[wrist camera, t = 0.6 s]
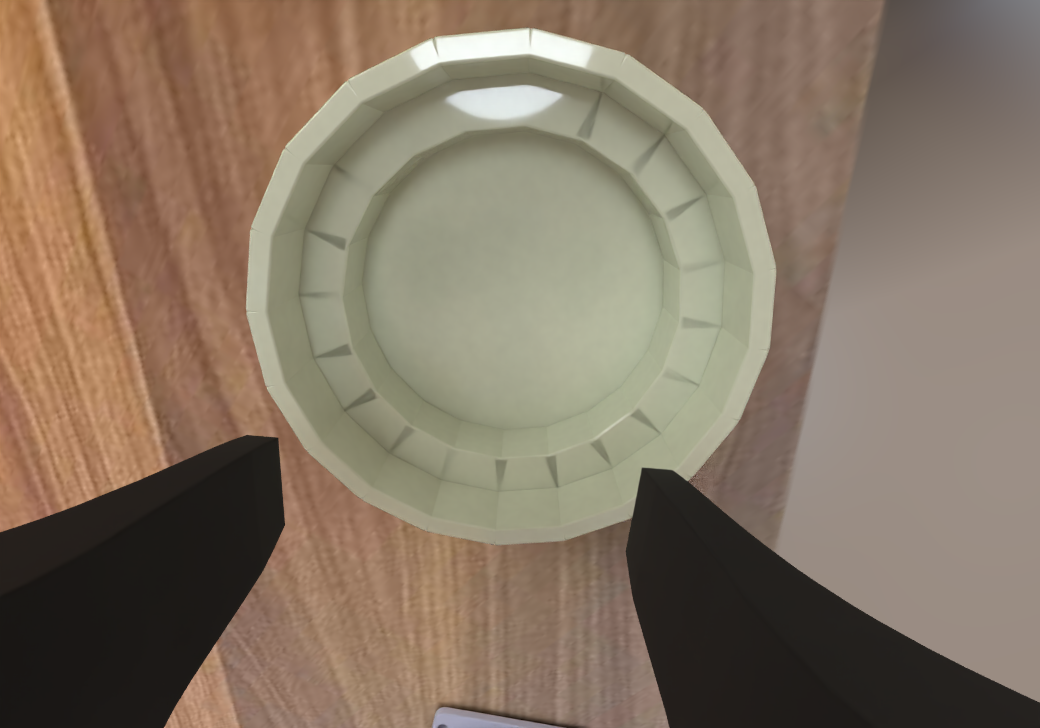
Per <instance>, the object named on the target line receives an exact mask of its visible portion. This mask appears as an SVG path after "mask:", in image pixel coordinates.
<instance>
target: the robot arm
mask: <svg viewBox="0 0 1040 728" xmlns="http://www.w3.org/2000/svg"><path fill="white" fill-rule="evenodd" d="M284 526H285V520H284V507H283V494H282V481H281V468H280V456H279V443H278V438H275V437H263V436H251V435H246V436H243V437H240V438H237V439H234V440H231V441H229V442H226V443H224V444H221V445H219V446H216V447H214V448H212V449H209V450H207V451H205V452H202V453H200V454H198V455H196V456H193V457H191V458H189V459H187V460H184V461H182V462H180V463H178V464H175V465H173V466H171V467H168V468H166V469H164V470H162V471H159V472H157V473H155V474H153V475H150V476H148V477H146V478H143V479H141V480H139V481H136V482H134V483H131V484H129V485H126V486H124V487H122V488H119V489H117V490H114V491H112V492H109V493H107V494H104V495H102V496H99V497H97V498H94V499H92V500H89V501H87V502H85V503H82V504H80V505H77V506H75V507H72V508H69V509H67V510H64V511H61V512H59V513H56V514H53V515H50V516H47V517H45V518H42V519H39V520H36V521H33V522H30V523H27V524H24V525H21V526H18V527H15V528H12V529H9V530H6V531H3V532H0V728H164V726H165V724H166V723H167V721H168V719H169V717H170V715H171V713H172V711H173V710H174V708H175V706H176V704H177V703H178V701H179V699H180V698H181V696H182V695H183V693H184V691H185V690H186V688H187V686H188V685H189V683H190V681H191V680H192V678H193V677H194V675H195V674H196V672H197V671H198V669H199V668H200V666H201V665H202V663H203V662H204V660H205V659H206V657H207V656H208V654H209V653H210V651H211V650H212V648H213V646H214V645H215V643H216V642H217V640H218V639H219V637H220V636H221V634H222V633H223V631H224V630H225V628H226V627H227V625H228V624H229V622H230V621H231V619H232V618H233V616H234V615H235V613H236V612H237V610H238V609H239V607H240V606H241V604H242V603H243V601H244V600H245V598H246V596H247V595H248V593H249V592H250V590H251V589H252V587H253V586H254V584H255V583H256V581H257V579H258V578H259V576H260V575H261V573H262V571H263V570H264V568H265V566H266V564H267V562H268V560H269V558H270V556H271V554H272V552H273V550H274V548H275V545H276V543H277V541H278V539H279V537H280V534H281V532H282V530H283V528H284ZM626 556H627V563H628V570H629V577H630V583H631V589H632V596H633V600H634V604H635V608H636V611H637V615H638V618H639V622H640V625H641V629H642V632H643V636H644V639H645V643H646V646H647V650H648V653H649V657H650V660H651V663H652V667H653V670H654V674H655V677H656V681H657V684H658V687H659V691H660V694H661V698H662V701H663V705H664V708H665V711H666V715H667V719H668V723H669V727H670V728H1040V703H1039V702H1037V701H1035V700H1033V699H1030V698H1028V697H1026V696H1024V695H1022V694H1020V693H1018V692H1016V691H1014V690H1011V689H1009V688H1007V687H1005V686H1003V685H1001V684H999V683H997V682H995V681H992V680H990V679H988V678H986V677H984V676H982V675H980V674H978V673H976V672H974V671H972V670H970V669H968V668H965V667H964V666H962V665H959V664H958V663H956V662H954V661H952V660H950V659H948V658H946V657H944V656H942V655H940V654H938V653H936V652H934V651H932V650H930V649H928V648H926V647H925V646H923V645H921V644H919V643H917V642H916V641H914V640H912V639H910V638H908V637H907V636H905V635H903V634H901V633H899V632H898V631H896V630H894V629H892V628H890V627H889V626H887V625H885V624H883V623H881V622H880V621H878V620H876V619H874V618H873V617H871V616H869V615H868V614H866V613H864V612H863V611H861V610H859V609H858V608H856V607H854V606H853V605H851V604H849V603H848V602H846V601H845V600H843V599H842V598H840V597H839V596H837V595H836V594H834V593H832V592H831V591H829V590H828V589H826V588H825V587H823V586H821V585H820V584H818V583H817V582H815V581H814V580H812V579H811V578H809V577H808V576H806V575H805V574H803V573H802V572H801V571H799V570H798V569H796V568H795V567H794V566H792V565H791V564H790V563H788V562H787V561H785V560H784V559H783V558H781V557H780V556H779V555H777V554H776V553H775V552H773V551H772V550H771V549H769V548H768V547H767V546H765V545H764V544H763V543H761V542H760V541H759V540H758V539H756V538H755V537H754V536H752V535H751V534H750V533H749V532H747V531H746V530H745V529H744V528H742V527H741V526H740V525H739V524H738V523H736V522H735V521H734V520H733V519H731V518H730V517H729V516H728V515H727V514H725V513H724V512H723V511H722V510H721V509H720V508H718V507H717V506H716V505H715V504H714V503H712V502H711V501H710V500H709V499H708V498H707V497H705V496H704V495H703V494H702V493H701V492H700V491H698V490H697V489H696V488H695V487H694V486H692V485H691V484H690V483H689V482H688V481H686V480H685V479H684V478H683V477H681V476H680V475H679V474H677V473H676V472H675V471H673V470H668V469H656V468H643V467H642V470H641V475H640V480H639V485H638V491H637V496H636V501H635V506H634V511H633V517H632V522H631V527H630V532H629V537H628V543H627V548H626ZM432 728H565V727H559V726H553V725H547V724H542V723H536V722H530V721H524V720H519V719H513V718H507V717H501V716H496V715H490V714H484V713H479V712H473V711H467V710H461V709H456V708H450V707H442V708H439V709H438V710H437V711H436V713H435V717H434V721H433V725H432Z"/></svg>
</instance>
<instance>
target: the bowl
mask: <svg viewBox="0 0 1040 728" xmlns="http://www.w3.org/2000/svg"><path fill="white" fill-rule="evenodd" d="M285 148H286V149H284V150H283V151H282V154H281V156H280V159H279V161H278V163H277V166H276V168H275V171H274V173H273V175H272V178H271V180H270V183H269V185H268V187H267V190H266V192H265V195H264V197H263V199H262V202H261V204H260V207H259V209H258V211H257V214H256V216H255V219H254V221H253V223H252V226H251V228H252V229H251V231H250V244H249V262H248V280H247V298H246V310H247V312H246V314H247V318H248V322H249V325H250V329H251V333H252V337H253V340H254V344H255V348H256V351H257V355H258V359H259V363H260V366H261V370H262V374H263V377H264V381H265V385H266V387H267V390H268V391H269V393H270V395H271V396H272V398H273V399H274V401H275V403H276V404H277V406H278V407H279V409H280V410H281V412H282V414H283V415H284V417H285V418H286V420H287V422H288V423H289V425H290V426H291V428H292V429H293V431H294V433H295V434H296V436H297V437H298V439H299V440H300V442H301V444H302V445H303V447H304V448H305V450H306V451H308V453H309V454H310V455H311V456H312V457H313V458H315V459H316V460H317V461H318V462H319V463H320V464H321V465H322V466H324V467H325V468H326V469H327V470H328V471H329V472H330V473H331V474H333V475H334V476H335V477H336V478H337V479H338V480H339V481H341V482H342V483H343V484H344V485H345V486H346V487H347V488H348V489H350V490H351V491H352V492H353V493H354V494H355V495H356V496H357V497H359V498H360V499H363V501H364V502H367V503H369V504H371V505H373V506H375V507H377V508H379V509H381V510H383V511H385V512H387V513H389V514H391V515H393V516H395V517H397V518H399V519H401V520H403V521H405V522H407V523H409V524H411V525H413V526H415V527H417V528H420V529H422V530H424V531H425V530H426V531H427V532H431V533H436V534H441V535H446V536H451V537H456V538H461V539H466V540H471V541H476V542H481V543H486V544H491V545H494V544H495V545H510V544H526V543H542V542H558V541H564V540H569V539H572V538H575V537H578V536H581V535H584V534H587V533H590V532H593V531H596V530H599V529H602V528H605V527H608V526H611V525H614V524H617V523H620V522H622V521H625V520H628V519H631V517H633V511H634V506H635V501H636V496H637V491H638V485H639V480H640V475H641V470H642V467H643V468H656V469H668V470H673V471H675V472H676V473H677V474H679V475H680V476H681V477H683V478H684V479H685V480H686V481H688V480H690V479H691V477H693V476H694V475H695V474H696V473H697V471H698V470H699V469H700V468H701V467H702V465H703V464H704V463H705V462H706V461H707V459H708V458H709V457H710V456H711V455H712V453H713V452H714V451H715V450H716V449H717V447H718V446H719V445H720V444H721V443H722V442H723V440H724V439H725V438H726V437H727V436H728V434H729V433H730V432H731V431H732V430H733V428H734V427H735V426H736V425H737V424H738V422H739V421H738V420H740V419H741V416H742V414H743V411H744V409H745V407H746V404H747V402H748V400H749V397H750V395H751V393H752V390H753V388H754V385H755V383H756V381H757V378H758V376H759V374H760V371H761V369H762V366H763V364H764V362H765V359H766V357H767V355H768V352H769V349H770V342H771V330H772V318H773V306H774V294H775V282H776V269H775V268H776V264H775V260H774V256H773V252H772V248H771V244H770V240H769V236H768V232H767V228H766V224H765V221H764V217H763V213H762V209H761V205H760V201H759V197H758V193H757V189H756V186H755V185H754V182H753V180H752V179H751V177H750V176H749V174H748V173H747V172H746V170H745V169H744V167H743V166H742V164H741V163H740V161H739V160H738V158H737V157H736V155H735V154H734V152H733V151H732V149H731V148H730V146H729V145H728V143H727V142H726V140H725V139H724V137H723V136H722V134H721V133H720V131H719V130H718V128H717V127H716V125H715V124H714V122H713V121H712V120H711V118H710V117H709V115H708V114H707V112H706V111H705V110H703V108H702V107H701V106H700V105H698V104H697V103H696V102H694V101H693V100H691V99H690V98H689V97H687V96H686V95H685V94H683V93H682V92H680V91H679V90H678V89H676V88H675V87H673V86H672V85H671V84H669V83H668V82H666V81H665V80H664V79H662V78H661V77H660V76H658V75H657V74H655V73H654V72H653V71H651V70H650V69H648V68H647V67H646V66H644V65H643V64H642V63H640V62H639V61H637V60H636V59H635V58H633V57H632V56H630V55H629V54H626V55H625V53H624V52H622V51H618V50H614V49H611V48H607V47H603V46H600V45H596V44H592V43H589V42H585V41H581V40H578V39H574V38H570V37H566V36H563V35H559V34H555V33H552V32H548V31H544V30H541V29H537V28H532V29H531V28H529V27H526V28H516V29H506V30H496V31H486V32H475V33H465V34H455V35H445V36H436V37H434V39H433V38H429V39H427V40H425V41H423V42H421V43H419V44H417V45H415V46H413V47H411V48H409V49H407V50H405V51H403V52H401V53H399V54H397V55H395V56H393V57H391V58H389V59H387V60H385V61H383V62H381V63H379V64H377V65H375V66H373V67H371V68H369V69H367V70H365V71H363V72H361V73H359V74H357V75H355V76H353V77H351V78H349V80H348V81H346V82H344V83H343V84H342V85H341V87H340V88H339V89H338V90H337V91H336V92H335V93H334V94H333V95H332V96H331V97H330V98H329V99H328V101H327V102H326V103H325V104H324V105H323V106H322V107H321V108H320V109H319V110H318V111H317V112H316V113H315V115H314V116H313V117H312V118H311V119H310V120H309V121H308V122H307V123H306V124H305V125H304V126H303V127H302V129H301V130H300V131H299V132H298V133H297V134H296V135H295V136H294V137H293V138H292V139H291V140H290V142H289V143H288V144H287V145H286V147H285Z"/></svg>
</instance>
